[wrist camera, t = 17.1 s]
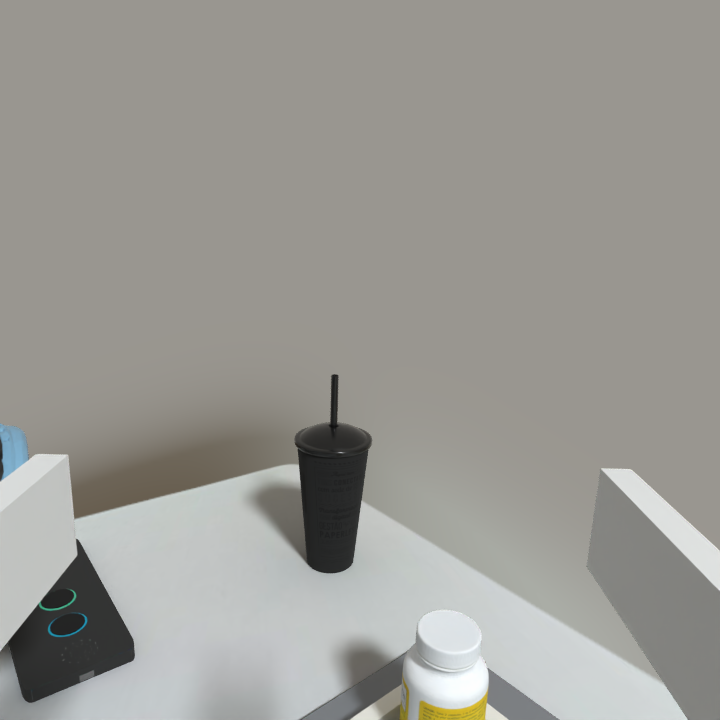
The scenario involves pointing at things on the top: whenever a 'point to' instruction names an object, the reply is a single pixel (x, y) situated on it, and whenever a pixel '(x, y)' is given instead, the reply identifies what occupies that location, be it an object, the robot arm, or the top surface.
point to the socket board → (383, 699)
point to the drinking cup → (332, 488)
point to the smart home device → (70, 634)
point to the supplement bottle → (445, 670)
